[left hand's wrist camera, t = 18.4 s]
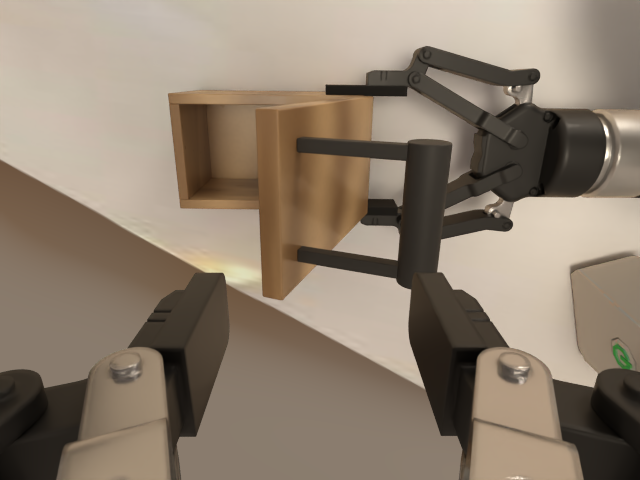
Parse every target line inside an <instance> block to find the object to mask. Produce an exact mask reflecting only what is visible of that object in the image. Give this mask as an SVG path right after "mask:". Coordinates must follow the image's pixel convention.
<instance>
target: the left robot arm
mask: <svg viewBox="0 0 640 480" xmlns="http://www.w3.org/2000/svg"><path fill="white" fill-rule="evenodd" d="M408 327H409V339H410V344H411V347H412V350H413V353H414V356H415V359H416V362H417V365H418V368H419V371H420V374H421V377H422V380H423V383H424V386H425V389H426V392H427V395H428V398H429V401H430V404H431V407H432V410H433V413H434V416H435V419H436V422H437V425H438V428H439V431H440V434H441V436H458V439H459V441H460V444H461V447H462V449H463V451H462V457H461V465H460V474H459V480H640V372H638V371H634V370H629V369H622V368H612V369H606V370H604V371H601V372H600V373H599V374H598V376H597V379H596V383H595V386H594V388H592V387H587V386H583V385H578V384H573V383H568V382H563V381H559V380H555V379H552V375H551V372H550V370H549V369H548V367H547V366H546V365H545V364H544V363H543V362H542V361H540V360H539V359H538V358H536V357H534V356H533V355H531V354H528V353H526V352H524V351H521V350H517V349H513V348H509V346H508V345H507V343H506V342H505V340H504V339H503V337H502V336H501V335H500V333H499V332H498V330H497V329H496V327H495V326H494V324H493V323H492V322H490V319H489V317H488V316H487V314H486V313H485V312H484V310H483V309H482V307H481V306H480V304H479V303H478V301H477V300H476V299H475V298H474V297H472V296H471V295H469V294H468V293H466V292H465V291H463V290H453V289H452V287H451V286H450V284H449V283H448V281H447V279H446V278H445V276H444V274H443V273H414V275H413V279H412V289H411V300H410V311H409V325H408ZM228 339H229V313H228V302H227V291H226V280H225V276H224V274H223V273H195V274H194V276H193V277H192V279H191V281H190V282H189V284H188V285H187V287H186V289H185V290H175V291H174V292H172V293H171V294H169V295H168V296H166V297H165V298H163V299H162V300H161V301H160V302H159V304H158V305H157V307H156V308H155V309H154V313H152V314H151V315H150V317H149V318H148V320H147V322H145V324H144V325H143V327H142V328H141V330H140V331H139V332H138V334H137V335H136V337H135V338H134V340H133V341H132V342H131V344H130V345H129V347H128V348H127V349H123V350H119V351H116V352H114V353H112V354H109V355H108V356H106V357H104V358H102V359H101V360H100V361H98V362H97V363H96V364H95V365H94V366H93V367H92V369H91V370H90V372H89V375H88V378H87V379H84V380H81V381H77V382H72V383H68V384H63V385H58V386H53V387H48V388H44V386H43V382H42V379H41V377H40V375H39V374H38V373H37V372H34V371H31V370H24V369H21V370H10V371H6V372H2V373H0V480H181V475H180V465H179V457H178V451H177V442H178V439H179V437H195V436H196V435H197V432H198V429H199V426H200V423H201V420H202V418H203V415H204V412H205V409H206V406H207V403H208V400H209V397H210V394H211V391H212V388H213V385H214V382H215V379H216V377H217V374H218V371H219V368H220V365H221V362H222V359H223V356H224V353H225V350H226V347H227V344H228Z"/></svg>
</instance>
